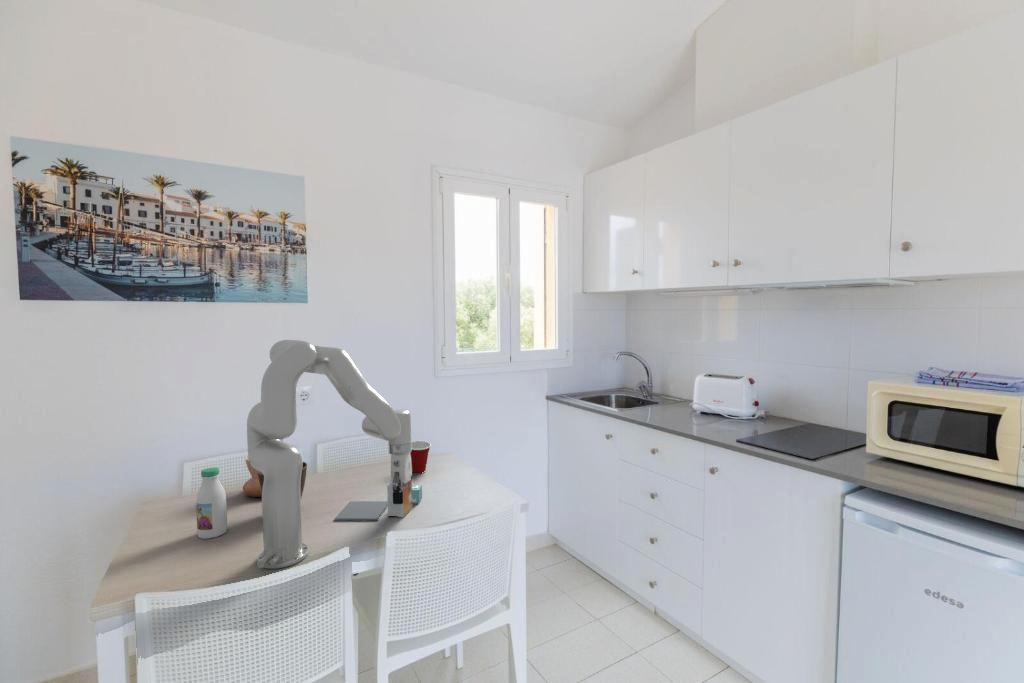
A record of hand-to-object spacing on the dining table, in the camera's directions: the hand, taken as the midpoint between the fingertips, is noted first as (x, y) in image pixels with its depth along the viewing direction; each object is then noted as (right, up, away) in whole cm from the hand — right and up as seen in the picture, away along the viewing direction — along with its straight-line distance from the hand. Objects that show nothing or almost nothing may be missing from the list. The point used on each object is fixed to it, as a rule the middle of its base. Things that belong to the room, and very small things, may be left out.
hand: (401, 497), depth 158 cm
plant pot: (-39, -6, -1) cm, 40 cm away
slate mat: (-13, -5, +1) cm, 14 cm away
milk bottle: (-55, -6, -14) cm, 57 cm away
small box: (-1, -5, 0) cm, 5 cm away
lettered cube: (+2, -5, +10) cm, 11 cm away
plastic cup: (-3, -3, +42) cm, 42 cm away
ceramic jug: (-56, -5, +19) cm, 60 cm away
